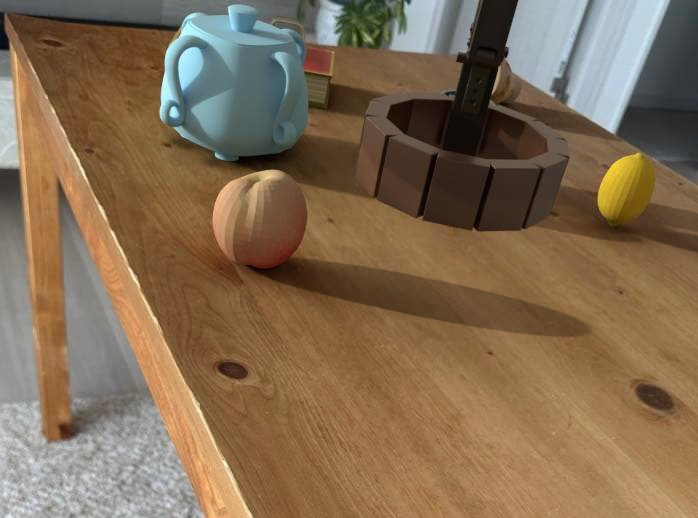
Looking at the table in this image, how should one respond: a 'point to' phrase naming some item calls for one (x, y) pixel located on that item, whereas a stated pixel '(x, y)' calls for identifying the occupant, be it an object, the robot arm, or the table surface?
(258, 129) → the decorative pot
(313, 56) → the hardcover book
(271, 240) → the fruit
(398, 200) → the ring
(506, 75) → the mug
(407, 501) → the table surface
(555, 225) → the table surface
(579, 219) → the table surface
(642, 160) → the lemon
